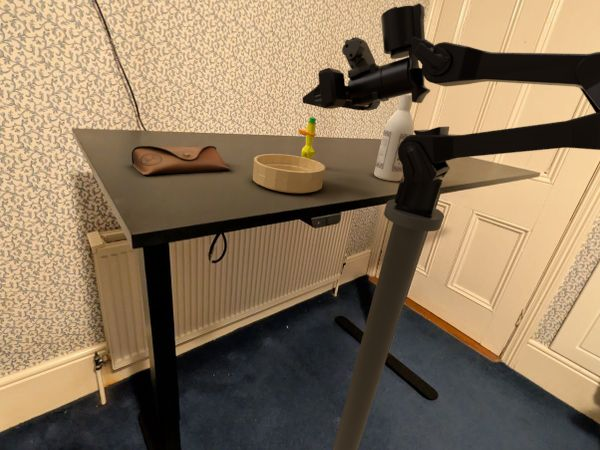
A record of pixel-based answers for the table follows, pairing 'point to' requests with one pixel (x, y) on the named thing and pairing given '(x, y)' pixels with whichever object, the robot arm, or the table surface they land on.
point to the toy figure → (308, 138)
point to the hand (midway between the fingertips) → (316, 101)
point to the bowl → (288, 173)
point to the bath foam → (394, 141)
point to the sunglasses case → (176, 159)
